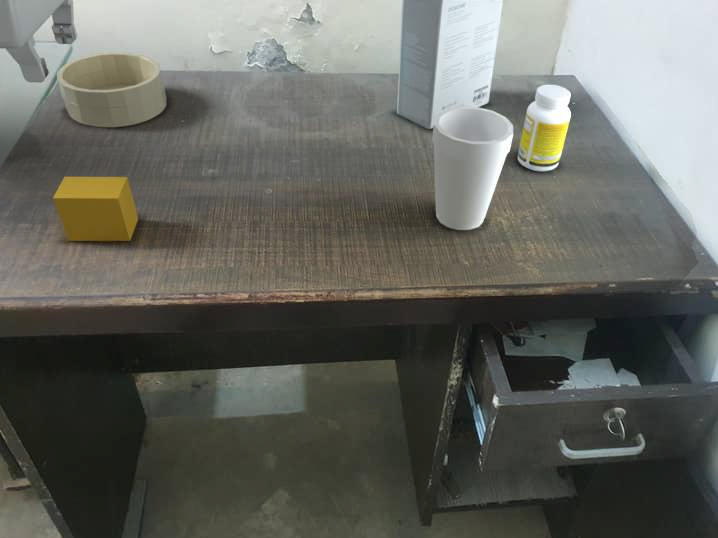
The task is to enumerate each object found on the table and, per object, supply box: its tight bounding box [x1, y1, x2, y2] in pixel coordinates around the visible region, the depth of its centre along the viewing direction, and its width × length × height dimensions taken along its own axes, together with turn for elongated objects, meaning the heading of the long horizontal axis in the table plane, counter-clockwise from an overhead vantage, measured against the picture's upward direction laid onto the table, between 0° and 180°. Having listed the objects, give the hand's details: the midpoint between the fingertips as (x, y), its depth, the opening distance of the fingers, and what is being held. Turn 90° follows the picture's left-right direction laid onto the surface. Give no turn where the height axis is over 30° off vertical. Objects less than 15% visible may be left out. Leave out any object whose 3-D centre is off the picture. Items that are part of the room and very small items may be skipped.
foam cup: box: [431, 107, 514, 231], centre depth 79 cm, size 10×9×13 cm
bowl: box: [56, 51, 168, 128], centre depth 98 cm, size 15×15×6 cm
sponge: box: [52, 176, 139, 242], centre depth 74 cm, size 7×4×6 cm, turn 95°
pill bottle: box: [517, 84, 572, 172], centre depth 91 cm, size 6×6×11 cm
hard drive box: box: [396, 0, 504, 130], centre depth 99 cm, size 16×8×20 cm, turn 136°
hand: (53, 59), depth 63 cm, fingers open, 8 cm apart
